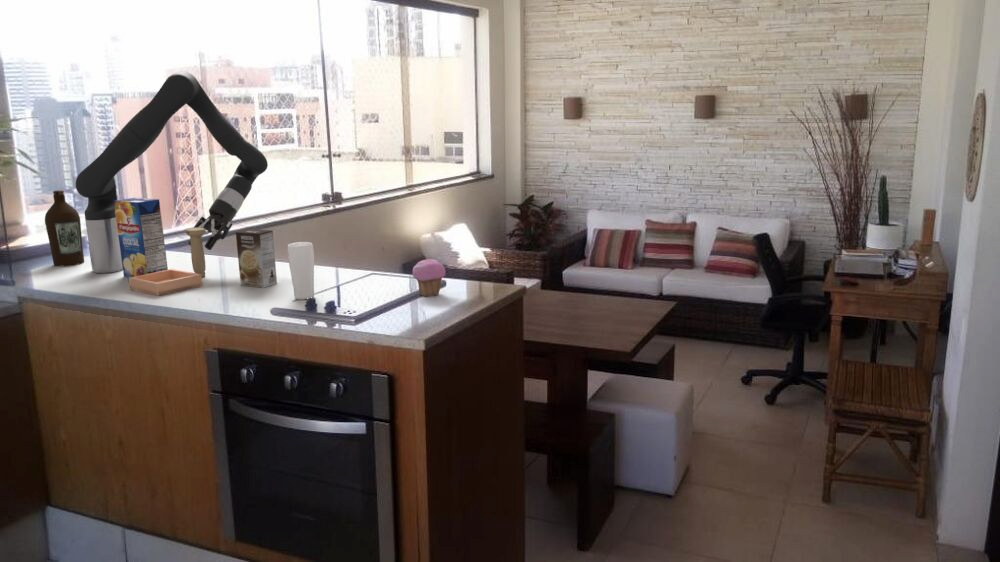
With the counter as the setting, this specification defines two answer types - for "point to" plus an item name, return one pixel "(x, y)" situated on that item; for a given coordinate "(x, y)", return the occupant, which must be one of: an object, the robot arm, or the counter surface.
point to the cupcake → (429, 276)
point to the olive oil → (64, 232)
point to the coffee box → (256, 257)
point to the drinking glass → (302, 269)
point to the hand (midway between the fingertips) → (199, 247)
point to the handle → (197, 250)
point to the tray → (165, 282)
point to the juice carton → (140, 236)
